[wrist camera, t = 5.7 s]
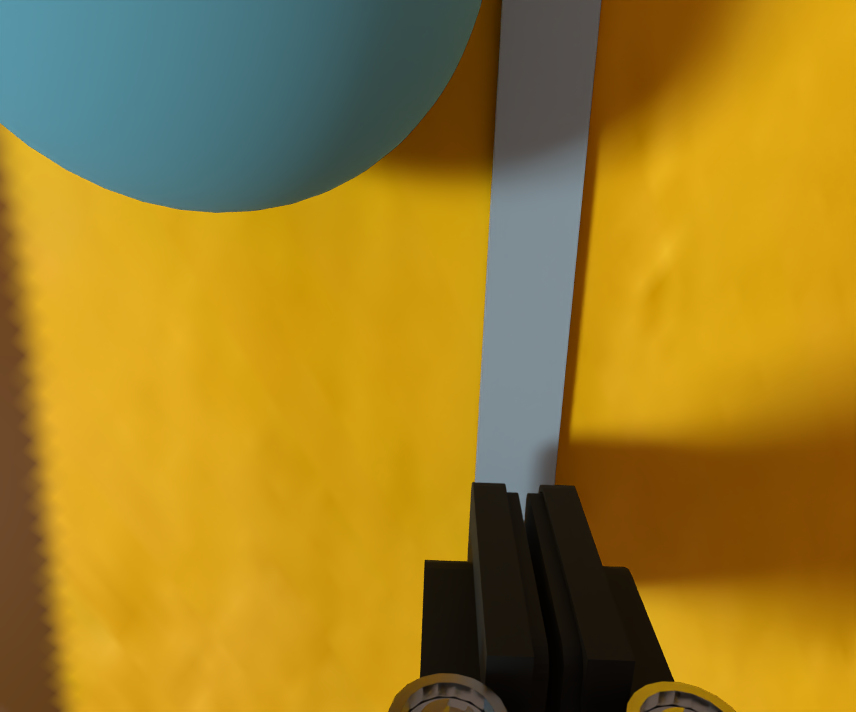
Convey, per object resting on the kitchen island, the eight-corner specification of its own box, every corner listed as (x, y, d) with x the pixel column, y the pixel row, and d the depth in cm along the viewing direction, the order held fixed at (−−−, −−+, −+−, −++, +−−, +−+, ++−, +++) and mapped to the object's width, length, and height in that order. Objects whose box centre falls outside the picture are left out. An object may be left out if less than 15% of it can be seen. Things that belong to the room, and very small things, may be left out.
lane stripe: (545, 558, 14) (546, 564, 13) (470, 555, 14) (471, 562, 13) (602, -38, 10) (605, -41, 10) (504, -41, 10) (505, -44, 10)
